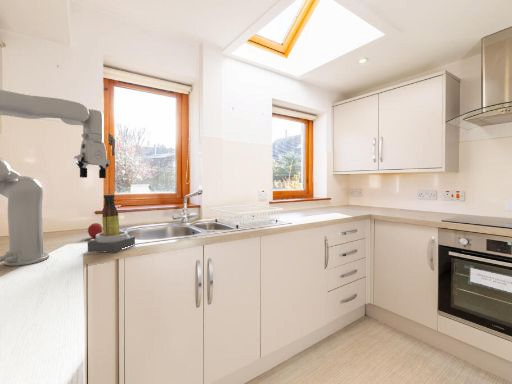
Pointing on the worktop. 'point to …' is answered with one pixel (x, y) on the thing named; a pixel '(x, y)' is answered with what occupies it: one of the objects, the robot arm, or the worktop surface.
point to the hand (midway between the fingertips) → (93, 177)
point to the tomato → (94, 229)
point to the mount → (111, 242)
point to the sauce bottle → (110, 217)
